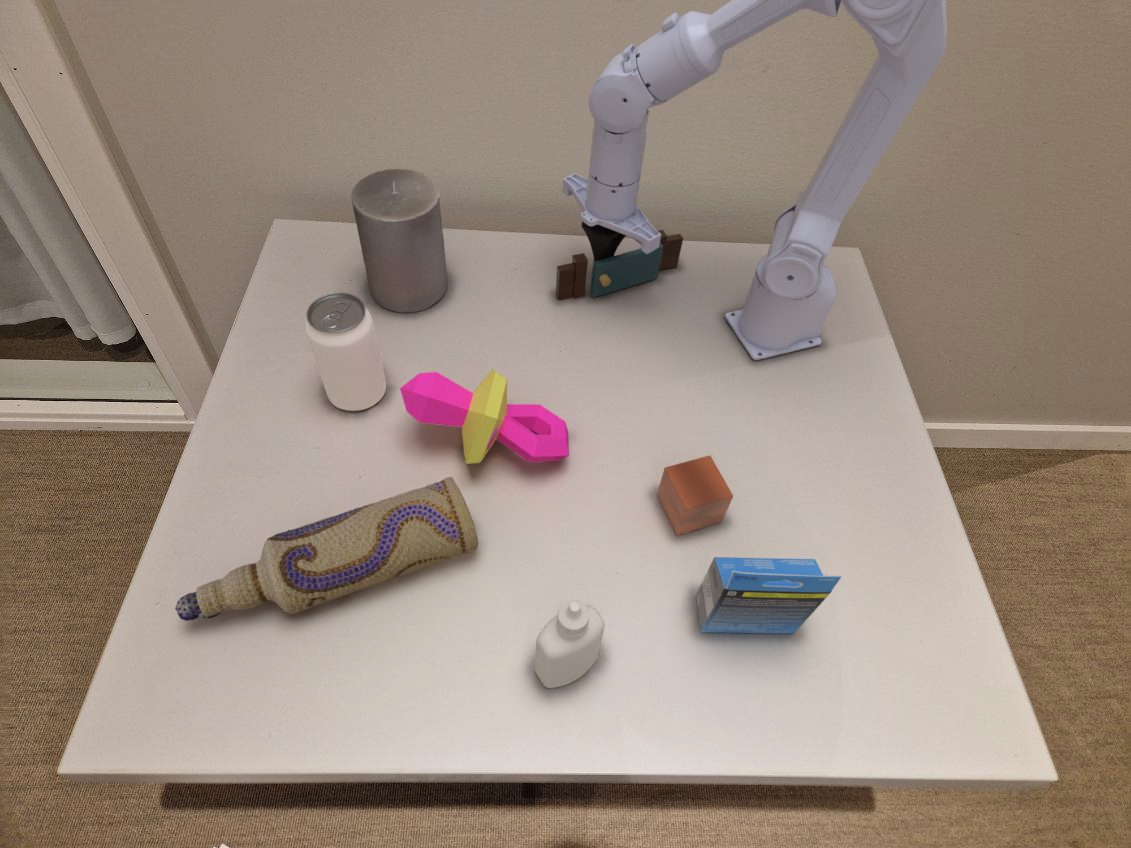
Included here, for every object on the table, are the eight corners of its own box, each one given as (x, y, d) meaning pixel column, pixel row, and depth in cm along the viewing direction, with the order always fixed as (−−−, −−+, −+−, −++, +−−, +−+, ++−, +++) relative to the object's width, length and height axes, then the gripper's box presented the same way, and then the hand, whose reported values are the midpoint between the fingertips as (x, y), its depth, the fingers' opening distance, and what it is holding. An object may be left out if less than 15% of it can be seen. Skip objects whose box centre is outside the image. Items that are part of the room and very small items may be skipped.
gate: (554, 295, 92) (556, 259, 87) (671, 259, 97) (678, 223, 92) (560, 304, 91) (562, 268, 86) (678, 267, 96) (686, 231, 92)
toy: (550, 509, 74) (589, 426, 69) (376, 456, 70) (404, 365, 65) (551, 457, 82) (585, 380, 78) (395, 407, 79) (422, 323, 74)
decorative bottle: (458, 497, 73) (453, 460, 68) (482, 561, 69) (479, 527, 64) (184, 583, 66) (155, 549, 61) (193, 660, 62) (163, 631, 57)
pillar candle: (369, 264, 93) (347, 160, 81) (445, 258, 95) (435, 155, 83) (370, 317, 88) (347, 213, 76) (452, 310, 89) (442, 207, 77)
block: (700, 482, 76) (710, 454, 72) (722, 522, 73) (733, 496, 69) (656, 494, 74) (664, 467, 70) (676, 536, 72) (686, 509, 68)
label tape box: (787, 596, 68) (832, 532, 58) (796, 638, 66) (844, 578, 56) (694, 594, 68) (724, 529, 58) (699, 636, 65) (731, 576, 56)
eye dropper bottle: (533, 640, 64) (535, 580, 55) (596, 637, 65) (609, 578, 55) (535, 690, 62) (537, 637, 52) (600, 687, 62) (615, 633, 53)
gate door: (589, 293, 92) (592, 261, 88) (654, 274, 95) (660, 242, 90) (596, 303, 91) (599, 270, 87) (661, 283, 94) (667, 251, 90)
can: (317, 406, 79) (289, 327, 70) (342, 363, 83) (319, 283, 73) (373, 419, 78) (353, 341, 69) (396, 375, 82) (380, 296, 73)
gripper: (544, 153, 81) (541, 249, 92) (635, 218, 75) (620, 313, 86) (591, 132, 85) (582, 228, 95) (681, 193, 78) (661, 288, 89)
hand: (603, 267), depth 91 cm, fingers closed
